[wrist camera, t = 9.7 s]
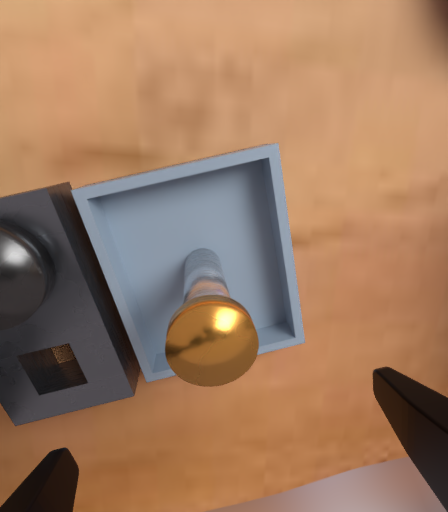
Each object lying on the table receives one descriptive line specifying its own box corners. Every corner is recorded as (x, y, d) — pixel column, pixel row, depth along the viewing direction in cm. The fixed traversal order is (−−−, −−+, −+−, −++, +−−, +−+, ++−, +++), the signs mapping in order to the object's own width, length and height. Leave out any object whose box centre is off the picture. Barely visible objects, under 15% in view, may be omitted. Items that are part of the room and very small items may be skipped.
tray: (151, 358, 22) (146, 382, 20) (86, 185, 18) (70, 190, 15) (293, 322, 23) (305, 342, 20) (266, 144, 18) (278, 143, 16)
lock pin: (183, 295, 20) (178, 395, 12) (169, 246, 19) (152, 320, 11) (234, 282, 20) (265, 373, 12) (223, 233, 19) (250, 296, 11)
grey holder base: (37, 391, 22) (-8, 461, 17) (-66, 212, 17) (-172, 238, 12) (141, 365, 22) (127, 427, 17) (68, 181, 18) (20, 194, 12)
